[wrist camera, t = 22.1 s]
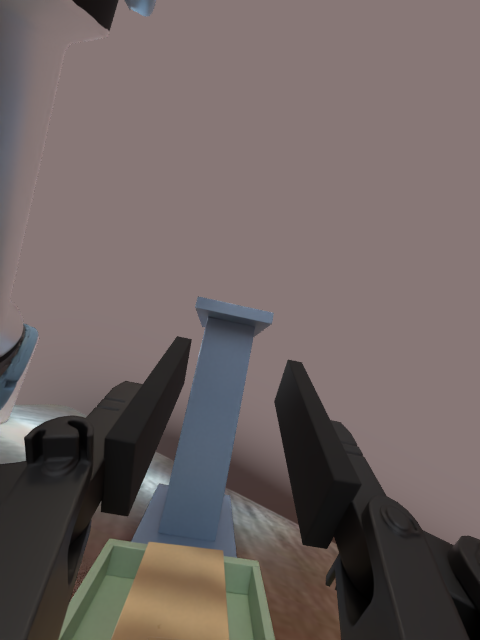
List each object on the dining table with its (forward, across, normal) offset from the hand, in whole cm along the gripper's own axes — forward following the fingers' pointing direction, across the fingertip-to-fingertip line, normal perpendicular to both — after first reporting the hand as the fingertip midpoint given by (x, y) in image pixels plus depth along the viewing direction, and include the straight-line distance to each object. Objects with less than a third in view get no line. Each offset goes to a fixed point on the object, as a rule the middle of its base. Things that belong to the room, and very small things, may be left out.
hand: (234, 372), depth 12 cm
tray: (-9, 0, -20) cm, 22 cm away
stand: (+9, 0, -30) cm, 32 cm away
